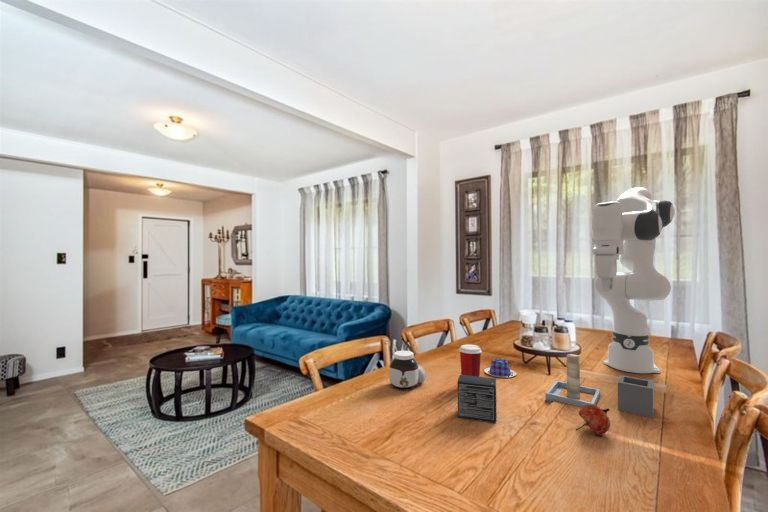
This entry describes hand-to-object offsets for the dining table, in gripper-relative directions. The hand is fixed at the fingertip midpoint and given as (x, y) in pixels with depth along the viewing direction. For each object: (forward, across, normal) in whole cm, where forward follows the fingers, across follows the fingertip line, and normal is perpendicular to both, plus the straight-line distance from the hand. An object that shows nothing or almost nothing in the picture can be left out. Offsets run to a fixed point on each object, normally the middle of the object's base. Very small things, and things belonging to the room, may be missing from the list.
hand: (607, 290), depth 114 cm
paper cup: (+34, +25, -38) cm, 57 cm away
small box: (+34, +44, -27) cm, 62 cm away
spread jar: (+34, +37, -56) cm, 75 cm away
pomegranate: (+34, +34, 0) cm, 48 cm away
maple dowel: (+33, +14, -8) cm, 37 cm away
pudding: (+35, +4, -35) cm, 49 cm away
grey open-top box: (+34, +13, +8) cm, 37 cm away
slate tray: (+34, +14, -8) cm, 38 cm away
